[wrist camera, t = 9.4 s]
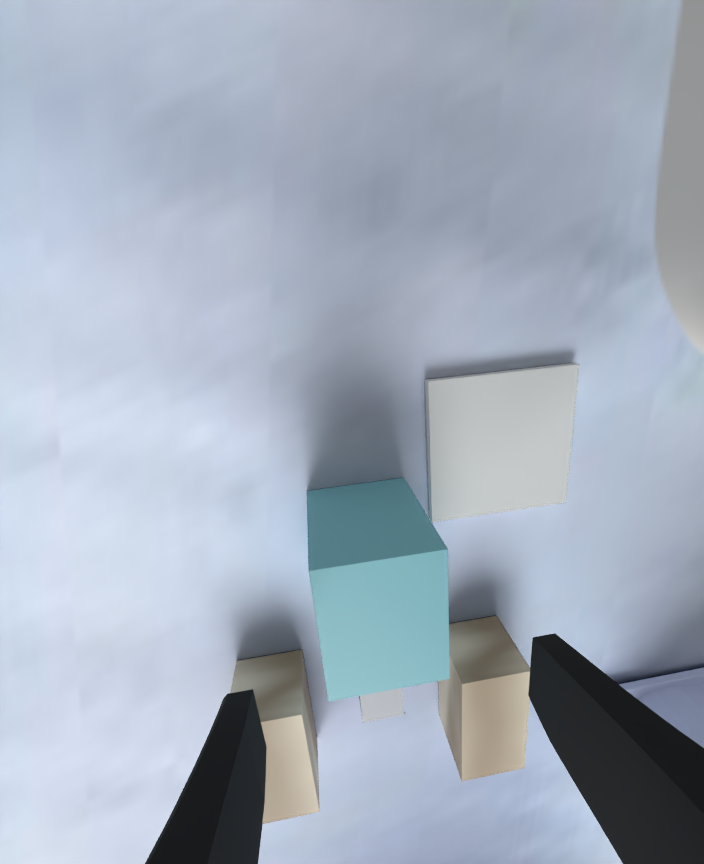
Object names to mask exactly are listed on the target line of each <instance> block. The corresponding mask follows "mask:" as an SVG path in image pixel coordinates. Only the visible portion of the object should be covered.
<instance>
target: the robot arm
mask: <svg viewBox="0 0 704 864" xmlns="http://www.w3.org/2000/svg"><path fill="white" fill-rule="evenodd" d="M528 696H529V698H530V700H531V702H532V704H533V706H534V708H535V711H536V713H537V715H538V717H539V719H540V721H541V723H542V725H543V727H544V729H545V731H546V734H547V736H548V738H549V740H550V742H551V743H552V745H553V747H554V749H555V750H556V752H557V754H558V755H559V757H560V759H561V761H562V762H563V764H564V766H565V767H566V769H567V771H568V772H569V774H570V776H571V777H572V779H573V781H574V782H575V784H576V786H577V787H578V789H579V791H580V792H581V794H582V796H583V797H584V799H585V801H586V802H587V804H588V806H589V807H590V809H591V811H592V812H593V814H594V816H595V817H596V819H597V821H598V822H599V824H600V826H601V827H602V829H603V831H604V832H605V834H606V836H607V837H608V839H609V841H610V842H611V844H612V846H613V847H614V849H615V851H616V852H617V854H618V856H619V857H620V859H621V861H622V863H623V864H704V668H699V669H693V670H688V671H683V672H678V673H673V674H668V675H663V676H658V677H653V678H648V679H643V680H638V681H633V682H628V683H623V684H617V683H616V682H615V681H614V680H612V679H611V678H610V677H609V676H607V675H606V674H605V673H604V672H602V671H601V670H600V669H599V668H597V667H596V666H595V665H594V664H592V663H591V662H590V661H589V660H587V659H586V658H585V657H584V656H582V655H581V654H580V653H579V652H577V651H576V650H575V649H574V648H572V647H571V646H570V645H569V644H567V643H566V642H565V641H564V640H562V639H561V638H560V637H559V636H557V635H556V634H550V635H544V636H539V637H534V638H533V642H532V654H531V667H530V679H529V692H528ZM266 750H267V747H266V742H265V738H264V734H263V730H262V725H261V721H260V717H259V712H258V708H257V704H256V700H255V695H254V691H253V689H251V690H246V691H240V692H235V693H229V694H227V695H226V696H225V697H224V699H223V701H222V704H221V706H220V709H219V711H218V714H217V716H216V719H215V721H214V723H213V726H212V728H211V730H210V733H209V735H208V737H207V740H206V742H205V744H204V746H203V748H202V751H201V753H200V755H199V757H198V759H197V762H196V764H195V766H194V768H193V770H192V772H191V774H190V776H189V779H188V781H187V783H186V785H185V787H184V789H183V791H182V793H181V795H180V797H179V799H178V801H177V803H176V805H175V807H174V809H173V811H172V813H171V815H170V817H169V819H168V821H167V823H166V825H165V827H164V829H163V831H162V833H161V835H160V837H159V838H158V840H157V842H156V844H155V846H154V848H153V850H152V852H151V854H150V855H149V857H148V859H147V861H146V863H145V864H258V857H259V848H260V839H261V831H262V822H263V813H264V804H265V782H266Z"/></svg>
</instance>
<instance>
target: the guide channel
mask: <svg viewBox="0 0 704 864" xmlns="http://www.w3.org/2000/svg"><path fill="white" fill-rule="evenodd" d="M449 671H450V679H446V680H441V681H438V682H439V716H440V719H441V721H442V724H443V727H444V730H445V733H446V736H447V739H448V742H449V745H450V748H451V751H452V754H453V757H454V760H455V763H456V766H457V769H458V772H459V775H460V778H461V780H462V781H466V780H471V779H475V778H480V777H485V776H489V775H494V774H499V773H503V772H508V771H513V770H517V769H522V768H524V765H525V752H526V740H527V727H528V714H529V702H530V698H529V696H528V692H529V679H530V667H529V665H528V664H527V662H526V661H525V659H524V658H523V656H522V654H521V653H520V651H519V650H518V648H517V647H516V645H515V644H514V642H513V640H512V639H511V637H510V636H509V634H508V633H507V631H506V629H505V628H504V626H503V625H502V623H501V622H500V620H499V618H498V617H497V616H492V617H486V618H480V619H475V620H469V621H463V622H457V623H452V624H449ZM251 689H253V691H254V695H255V700H256V704H257V708H258V712H259V717H260V721H261V725H262V730H263V734H264V738H265V742H266V747H267V750H266V782H265V804H264V813H263V822H262V824H265V823H269V822H274V821H279V820H283V819H288V818H293V817H297V816H302V815H307V814H312V813H316V812H320V809H319V780H318V750H317V735H316V729H315V724H314V718H313V712H312V706H311V700H310V694H309V688H308V682H307V676H306V671H305V665H304V659H303V653H302V650H297V651H291V652H285V653H280V654H274V655H268V656H262V657H257V658H251V659H245V660H239V661H236V666H235V671H234V677H233V682H232V687H231V692H230V693H235V692H240V691H246V690H251Z"/></svg>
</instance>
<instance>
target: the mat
mask: <svg viewBox="0 0 704 864" xmlns="http://www.w3.org/2000/svg"><path fill="white" fill-rule="evenodd" d="M578 373H579V364H575V363H568V364H559V365H551V366H542V367H533V368H524V369H515V370H506V371H498V372H489V373H480V374H471V375H462V376H454V377H445V378H436V379H427V380H425V397H426V431H427V466H428V501H429V518H430V520H431V522H438V521H445V520H452V519H458V518H465V517H472V516H479V515H485V514H492V513H499V512H506V511H512V510H519V509H526V508H532V507H539V506H546V505H553V504H559V503H566V495H567V484H568V474H569V464H570V454H571V444H572V434H573V424H574V414H575V403H576V393H577V383H578Z"/></svg>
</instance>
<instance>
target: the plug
mask: <svg viewBox="0 0 704 864" xmlns="http://www.w3.org/2000/svg"><path fill="white" fill-rule="evenodd" d="M307 520H308V563H309V576H310V583H311V590H312V596H313V603H314V609H315V616H316V623H317V629H318V636H319V643H320V649H321V656H322V662H323V669H324V676H325V682H326V689H327V695H328V702H330V701H335V700H340V699H346V698H351V697H356V696H359V699H360V706H361V713H362V720H363V722H369V721H374V720H379V719H384V718H389V717H394V716H399V715H404V706H403V691H402V688H404V687H409V686H414V685H420V684H425V683H430V682H435V681H441V680H446V679H450V671H449V601H448V549H447V547H446V546H445V544H444V542H443V541H442V539H441V537H440V536H439V534H438V533H437V531H436V529H435V528H434V526H433V524H432V523H431V521H430V519H429V518H428V516H427V515H426V513H425V511H424V510H423V508H422V506H421V505H420V503H419V502H418V500H417V498H416V497H415V495H414V493H413V492H412V490H411V489H410V487H409V485H408V484H407V482H406V480H405V479H404V478H397V479H389V480H382V481H375V482H368V483H360V484H353V485H346V486H339V487H331V488H324V489H317V490H310V491H307Z"/></svg>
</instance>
